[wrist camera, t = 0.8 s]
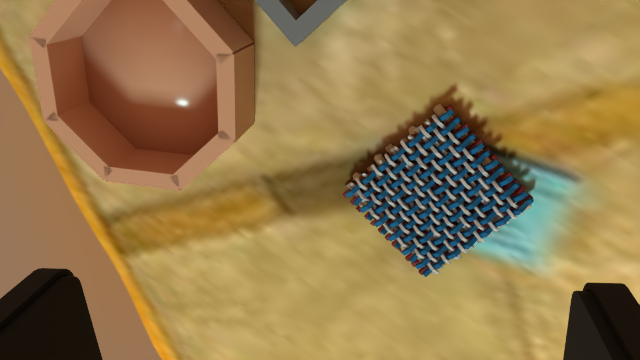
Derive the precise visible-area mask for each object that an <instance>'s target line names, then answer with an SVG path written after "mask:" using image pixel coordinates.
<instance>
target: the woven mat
mask: <svg viewBox="0 0 640 360" xmlns="http://www.w3.org/2000/svg"><path fill="white" fill-rule="evenodd" d="M453 109H454V107H453V106H452V105H449V106H448V107H446V108H445V109H444V108H443V107H442V106H441V105H440V104H438V105H436V106H435V107H434V109H433V111H434V112H435V113H436V115H435V114H434V115H432V116H431V117H432V118H433V120H432V121H430V120H429V119H428V118H427V119H426V120H425V121H424V122H422V123H423V124H424V125H425V127H423V126H422V125H420V126H419V127H415V126H413V125H412V126H411V127H410V128H409V134H410V135H409V136H408V138H409V139H406V138H403V139H402V140H401V141H400V143H401V146H400V147H399V148H397V147H396V146H393V145H392V144H389V145H388V146H387V147H386V148H385V149H386V150H387V151H388V152H389V154H390V155H389V156H388V155H387V154H384V156H385V158H384V157H383V156H382V154H378V155H375V157H374V160H375V162H376V163H377V164H376V165H374V164H373V165H371V166H369V167H368V168H367V170H368V171H369V172H368V173H367V174H365V173H364V174H360V173H358V172H356V173H355V174H353V180H354V181H356V183H355V184H353V183H352V182H349V183H348V184H347V185H346V186H345V187H346V188H347V191H346V192H344V193H343V196H344V197H345V198H346V197H348V198H349V197H350V196H352V195H353V196H354V198H353V199H352V200H351V201H350V202H351V203H352V204H353V205H354V204H355V205H356V206H357V205H358V204H359V206H358V207H357V208H356V209H357V210H358V211H359V212H362V213H363V212H365V211H366V212H368V213H367V214H366V215H365V216H364V217H365V218H366V219H368V220H372V219H373V217H374V218H375V220H373V221H372V222H371V223H370V224H372V225H373V226H374V225H375V226H376V227H378V226H380V225H382V226H381V227H380V228H379V229H378V231H379V232H380V233H382V234H383V235H385V234H386V233H387V231H388V232H389V234H387V235H386V236H385V238H386V239H387V240H390V241H392V240H395V239H396V240H395V241H394V242H392V245H393V246H394V247H396V248H397V249H398V250H399V251H400V252H401V253H402V254H403V255H406V254H409V255H407V256H406V257H405V259H406V260H407V261H409V260H410V261H411V262H412V263H411V264H412V265H413V266H414V267H416V268H417V269H419V268H421V269H420V270H419V273H420V274H421V275H422V274H423V275H424V276H425V277H426V276H428V275H429V274H430V273H431V272H432V274H434V273H437V274H440V272H439V271H438V270H436V269H439V268H441V269H442V268H443V266H445V262H446V263H447V264H449V265H450V263H451V262H450V261H449V260H450V259H452V258H454V259H458V258H459V259H461V258H462V257H461V255H460V252H464V253H467V252H468V251H466V250H467V249H469V248H470V247H471V249H472V248H473V247H474V246H473V244H474V243H475V242H476V241H477V242H478V243H482V242H484V241H485V240H483V239H482V238H484V237H487V236H488V237H490V236H491V235H490V233H491V232H492V230H494V231H499V230H498V229H497V227H498V228H500V227H503V226H504V224H506V223H507V224H508V223H510V221H509V220H510V219H511V217H512V218H513V219H516V218H517V217H516V216H515V215H519V214H520V215H522V214H524V213H523V211H524V210H528V209H529V208H530V207H531V203H533V197H532V196H531V195H527V193H526V192H525V189H526V188H525V187H524V185H522V186H521V187H520V188H519V189H517V188H518V187H519V184H518V183H519V182H518V181H517V180H516V178H515V179H513V178H512V177H511V176H512V174H511V173H510V172H509V171H508V172H507V173H505V174H504V173H503V171H505V167H504V165H503V164H502V163H501V164H499V162H498V161H497V158H498V157H497V156H496V154H494V155H491V156H489V155H490V153H491V151H490V150H489V148H488V147H487V148H485V149H484V150H482V148H484V146H483V142H482V141H481V139H479V140H477V141H476V142H475V141H474V139H475V138H476V134H475V133H474V132H473V131H472V132H470V133H469V134H468V133H467V132H468V131H469V129H468V127H469V125H468V124H467V123H464V124H463V125H462V126H461V125H460V124H459V122H460V121H461V117H460V116H459V115H458V114H457V115H456V116H455V117H454V118H453V116H452V114H454V112H453V111H452V110H453ZM442 121H443V122H444V123H446V124H445V125H443V124H442V123H441V122H442ZM438 125H439V126H440V127H441V128H440V129H439V128H438V127H437V126H438ZM418 128H419V129H420V130H419V129H418ZM451 130H453V132H452V133H451V132H450V131H451ZM429 132H431V133H432V135H429V134H428V133H429ZM446 134H448V135H447V136H445V135H446ZM411 135H412V136H411ZM458 138H460V139H461V140H460V141H458V140H457V139H458ZM437 141H438V142H437ZM418 142H420V143H421V144H419V143H418ZM453 142H454V143H456V144H455V145H454V144H453ZM434 144H435V145H434ZM414 145H416V146H415V147H413V146H414ZM466 146H467V147H468V148H467V149H466V148H465V147H466ZM425 150H427V151H428V152H426V151H425ZM446 150H447V151H446ZM405 151H406V152H407V154H406V155H404V154H403V153H404V152H405ZM440 151H441V152H442V153H443V154H442V153H441V152H440ZM461 151H463V152H461ZM421 153H422V154H424V155H422V154H421ZM473 154H475V156H474V157H472V156H471V155H473ZM488 156H489V157H488ZM434 158H435V159H436V160H434ZM468 158H469V159H470V160H468ZM394 160H396V161H397V162H398V163H396V164H395V163H394V162H393V161H394ZM412 160H414V161H416V162H415V163H413V164H412V163H411V162H410V161H412ZM449 160H451V161H450V162H449ZM430 161H431V162H432V163H430ZM498 164H499V165H498ZM497 165H498V166H497ZM440 166H442V168H441V167H440ZM421 167H423V168H424V169H423V170H421V171H420V170H419V169H420V168H421ZM454 167H456V168H454ZM403 168H404V169H405V171H402V169H403ZM436 169H437V170H438V171H437V170H436ZM383 170H384V171H385V172H386V173H384V174H383V173H381V171H383ZM486 171H489V172H488V173H487V172H486ZM399 172H400V173H399ZM467 172H468V173H469V174H467ZM429 175H430V176H429ZM483 175H484V176H483ZM409 176H411V177H412V178H411V179H410V178H408V177H409ZM428 176H429V177H428ZM463 176H464V177H463ZM391 177H392V178H393V180H392V181H391V180H390V178H391ZM444 177H445V178H444ZM373 178H375V179H376V181H373V180H372V179H373ZM495 179H496V180H495ZM512 180H513V181H512ZM474 181H476V182H474ZM455 182H456V183H455ZM435 183H437V185H436V184H435ZM470 183H471V184H470ZM399 185H400V187H397V186H399ZM451 185H452V186H451ZM379 186H382V187H383V188H382V189H380V188H379ZM502 186H504V187H503V188H500V187H502ZM360 188H362V189H364V190H363V191H362V192H361V191H360V190H359V189H360ZM394 189H395V190H394ZM497 190H498V191H497ZM443 191H445V192H444V193H442V192H443ZM405 192H406V193H408V194H405ZM422 192H425V194H423V193H422ZM368 196H370V197H369V198H366V197H368ZM526 196H527V197H526ZM469 197H471V198H469ZM487 197H488V198H487ZM431 199H433V200H431ZM448 199H449V200H448ZM465 200H466V201H465ZM412 201H415V202H412ZM393 202H395V203H393ZM515 202H517V203H516V204H515ZM375 203H377V204H378V205H375ZM495 204H496V205H495ZM437 207H440V208H439V209H437ZM456 207H457V208H456ZM402 208H403V210H402ZM384 210H385V212H384V213H382V211H384ZM483 212H485V213H483ZM464 213H465V214H464ZM445 214H447V215H446V216H445ZM463 214H464V215H463ZM462 215H463V216H462ZM479 215H480V216H479ZM408 216H411V217H410V218H408ZM427 216H428V217H427ZM389 218H390V219H389ZM388 219H389V220H388ZM451 222H453V223H451ZM416 223H418V224H417V225H415V224H416ZM433 223H435V224H434V225H432V224H433ZM397 225H399V226H398V227H396V226H397ZM478 228H479V229H478ZM477 229H478V230H477ZM423 230H424V232H421V231H423ZM475 230H476V231H475ZM403 232H405V234H403ZM447 237H449V238H447ZM465 237H466V238H465ZM446 238H447V239H446ZM436 245H437V246H436ZM417 246H418V248H416V247H417ZM452 246H453V247H452Z"/></svg>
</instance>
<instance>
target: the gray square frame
mask: <svg viewBox="0 0 640 360" xmlns="http://www.w3.org/2000/svg"><path fill="white" fill-rule="evenodd" d="M255 1H256V2H257V3H258V5H259V6H260V7H261V8H262V9H263V10H264V12H265V13H266V14H267V15H268V16H269V17H270V18H271V20H272V21H273V22H274V23H275V24H276V25H277V27H278V28H279V29H280V30H281V31H282V32H283V34H284V35H285V36H286V37H287V38H288V39H289V41H290V42H291V43H292V44H293V45H294V46H295V47H296V46H297V45H299V44H300V43H301V42H303V41H304V40H305V39H306V38H307V37H308V36H309V35H310V34H311V33H312V32H313V31H314V30H315V29H317V28H318V27H319V26H320V25H321V24H322V23H323V22H324V21H325V20H326V19H327V18H328V17H329V16H331V15H332V14H333V13H334V12H335V11H336V10H337V9H338V8H339V7H340V6H341V5H342V4H343V3H345V2H346V1H347V0H317V1H316V2H315V3H314V4H313V5H312V6H311V7H310V8H309V9H308V10H307V11H306V12H304V13H303V14H302V15H300V14H299V13H298V12H297V11H296V10H295V8H294V7H293V6H292V5H291V4H290V2H289V1H288V0H255Z"/></svg>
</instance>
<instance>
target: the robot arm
mask: <svg viewBox="0 0 640 360" xmlns="http://www.w3.org/2000/svg"><path fill="white" fill-rule="evenodd" d="M0 360H102V357H101V353H100V350H99V346H98V342H97V339H96V335H95V332H94V328H93V325H92V321H91V317H90V314H89V310H88V307H87V303H86V300H85V296H84V293H83V289H82V286H81V283H80V280H79V279H78V278H77V277H74V275H73V273H72V272H70V270H67V269H48V268H41V269H37V270H35V271H33V272H32V273H31V274H30V275H29V276H27V277H26V278H25V279H24V280H22V281H21V282H20V283H19V284H18V285H17V286H15V287H14V288H13V289H12V290H10V291H9V292H8V293H7V294H6V295H4V296H3V297H2V298H1V299H0ZM563 360H640V305H639V304H638V302H637V301H636V299H635V298H634V296H633V295H632V293H631V292H630V290H629V289H628V288H627V286H626V285H625V284H620V283H586V284H585V286H584V288H583V291H574V292H573V294H572V298H571V306H570V313H569V321H568V328H567V336H566V343H565V351H564V358H563Z"/></svg>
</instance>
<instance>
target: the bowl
mask: <svg viewBox="0 0 640 360" xmlns="http://www.w3.org/2000/svg"><path fill="white" fill-rule="evenodd" d="M30 36H31V37H29V38H30V44H31V50H32V56H33V62H34V68H35V74H36V80H37V86H38V92H39V98H40V103H41V109H42V115H43V120H45V121H44V122H45V123H46V124H47V125H48V126H49V127H50V128H51V129H52V130H53V131H54V132H55V133H56V134H57V135H58V136H59V137H60V138H61V139H62V140H63V141H64V142H65V143H66V144H67V145H68V146H69V147H70V148H71V149H72V150H73V151H74V152H75V153H76V154H77V155H78V156H79V157H81V158H82V159H83V160H84V161H85V162H86V163H87V164H88V165H89V166H90V167H91V168H92V169H93V170H94V171H95V172H96V173H97V174H98V175H99V176H100V177H101V178H102V179H103V180H105V181H108V182H116V183H124V184H132V185H140V186H148V187H155V188H163V189H171V190H180V189H181V190H182V189H183V188H184V187H185V186H186V185H187V184H188V183H190V182H191V181H192V180H193V179H194V178H195V177H196V176H197V175H199V174H200V173H201V172H202V171H203V170H204V169H205V168H206V167H208V166H209V165H210V164H211V163H212V162H213V161H214V160H215V159H217V158H218V157H219V156H220V155H221V154H222V153H223V152H224V151H226V150H227V149H228V148H229V147H230V146H231V145H232V144H233V143H235V142H236V141H237V140H238V139H239V138H240V137H241V136H242V135H243V134H244V133H245V132H246V131H247V130H248V129H249V128H250V127H251V126H252V125H253V124H254V109H255V44H252V43H253V40H252V39H251V38H250V37H249V36H248V35H247V34H246V32H245V31H244V30H243V29H242V28H241V27H240V26H239V24H238V23H237V22H236V21H235V20H234V19H233V18H232V16H231V15H230V14H229V13H228V12H227V11H226V10H225V9H224V7H223V6H222V5H221V4H220V3H219V2H218V1H217V0H56V2H55V3H54V4H53V6H52V7H51V8H50V9H49V11H48V12H47V13H46V15H45V16H44V17H43V18H42V20H41V21H40V22H39V24H38V25H37V26H36V28H35V29H34V30H33V31H32V33H31V34H30Z"/></svg>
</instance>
